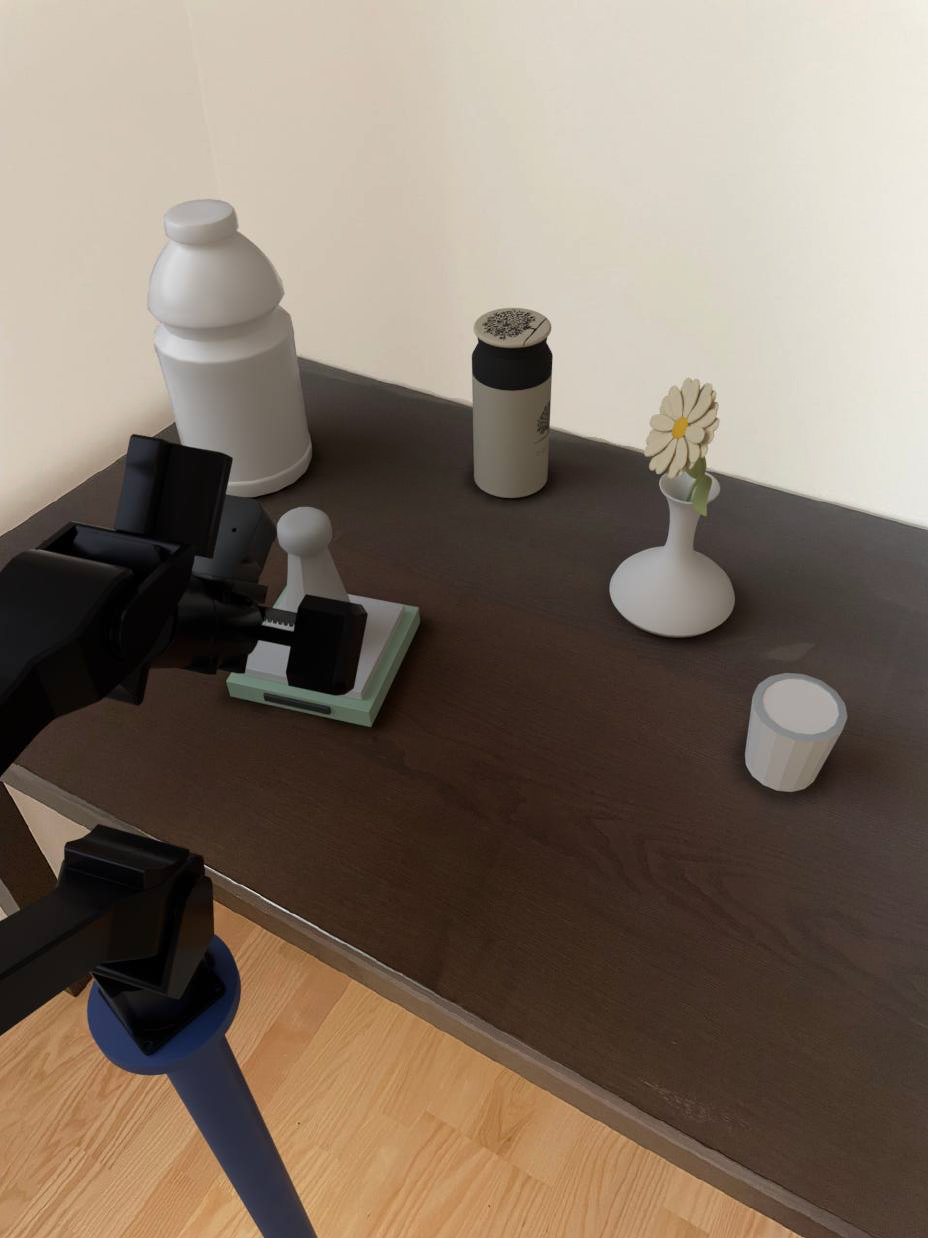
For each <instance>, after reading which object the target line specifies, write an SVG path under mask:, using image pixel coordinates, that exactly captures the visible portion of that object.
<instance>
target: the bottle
mask: <svg viewBox="0 0 928 1238" xmlns="http://www.w3.org/2000/svg"><path fill="white" fill-rule="evenodd" d="M163 228H164V233H165V235H166V237H167V238H168V239H169V241H168V242H167V243H166V244H165V245H164V247H163V248H162V249H161V251H160V253H159V254H158V256H157V258H156V260H155V262H154V264H153V267H152V270H151V272H150V277H149V281H148V290H147V297H146V299H147V301H146V303H147V304H146V306H147V310H148V311H149V312H150V314H151V315H152V316H153V317H154V318H155V320H156V321H159V323H158V325H157V326H156V328H154V330H153V346H154V351H155V353H156V356H157V359H158V363H159V366H160V370H161V373H162V377H163V381H164V384H165V388H166V393H167V395H168V400H169V404H170V407H171V411H172V414H173V418H174V423H175V425H176V430H177V433H178V437H179V441H180V445H184V446H189V447H194V448H200V449H206V450H211V451H217V452H221V453H224V454H227V455H229V456H231V457H232V458H233V462H232V467H231V472H230V476H229V481H228V486H227V491H226V494H227V495H233V496H239V497H245V498H256V497H257V498H258V497H260V496H265V495H268V494H272V493H277V492H278V491H280V490H282V489H284V488H285V487H289V486H290V485H293V484H294V483H295V482H297V480H299V479H300V478H301V477H302V476H303V475H304V474H305V473H306V472H307V470H308V468H309V465H310V463H311V461H312V458H313V445H312V440H311V434H310V432H309V429H308V421H307V414H306V408H305V401H304V394H303V388H302V382H301V375H300V368H299V361H298V355H297V348H296V340H295V330H294V326H293V325H294V323H293V320H292V316H291V314H290V313H289V312H288V311H287V310H286V309H285V308H284V307H283V306H282V305H280V302H281V301H282V299H284V296H285V295H286V293H285V292H286V291H285V288H284V283H283V279H282V277H281V276H280V275H279V272H278V271H277V269H276V267H275V265H274V264H273V262H272V261H271V259H270V258H269V257H268V256H267V255H266V253H265V252H264V251H262V249H261V248H259V246H257V244H255V243H254V242H253V241H251V240H250V239H249V238H248V237H247V236H246V235H244V234H243V233H242V232H240V231H238V230H239V228H240V225H239V218H238V215H237V212H236V209H235V208H234V206H233V205H232V204H230V203H229V202H227V201H225V200H221V199H213V198H204V199H194V200H188V201H184V202H181V203H178V204H175V205H173V206H172V207H170V208H168V209H167V210H166V212H165V213H164V214H163Z"/></svg>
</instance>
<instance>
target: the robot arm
mask: <svg viewBox="0 0 928 1238" xmlns="http://www.w3.org/2000/svg"><path fill="white" fill-rule="evenodd" d="M232 462H233V458H232V457H231V456H229V455H227V454H224V453H221V452H217V451H211V450H206V449H200V448H194V447H189V446H184V445H182V444H181V443H175V442H171V441H169V440H166V439H165V438H160V437H154V436H150V435H149V436H148V435H142V434H137V433H132V434H131V435H130V437H129V441H128V446H127V452H126V457H125V470H124V475H123V479H122V485H121V490H120V495H119V500H118V505H117V508H116V509H117V510H116V513H115V518H114V519H115V520H114V524H113V528H110V527H103V526H99V525H94V524H88V523H84V522H78V521H73V520H71V521H68V522H67V523H66V524H65V525H64V526H62V527H61V528H59V529H58V530H57V531H55V532H54V533H53V534H52V535H50V536H49V537H48V538H46V539H44V540H43V541H42V542H41V543H40V544H39V545H37V546H36V547H35V548H30V549H27V550H22V552H20V553H18V554H17V555H15V556H13V557H12V558H11V559H10V560H9V561H8V562H7V563H6V564H5V565H4V567H3V568H2V569H1V570H0V778H1V777H2V776H4V774H5V773H6V772H7V770H8V769H10V767H11V766H12V765H13V764H14V763H15V762H16V760H17V759H18V758H19V757H20V755H21V754H22V753H23V752H24V751H25V750H26V749H27V748H28V747H29V745H30V744H31V743H32V742H33V740H34V739H35V738H36V737H37V736H38V735H39V734H40V733H41V732H42V731H43V730H44V729H45V728H46V727H48V726H49V725H50V724H51V723H52V722H54V721H55V720H57V719H59V718H62V717H64V716H67V715H69V714H72V713H75V712H77V711H79V710H82V709H84V708H87V707H90V706H92V705H95V704H97V703H99V702H101V701H102V700H103V699H106V700H110V701H115V702H119V703H123V704H128V705H131V706H135V707H139V706H141V705H142V704H143V702H144V700H145V695H146V691H147V685H148V679H149V675H150V671H151V670H152V669H155V670H157V669H179V670H180V669H181V670H184V671H188V672H189V671H190V672H193V673H199V674H204V675H208V676H211V675H215V676H216V675H217V673H218V670H219V671H224V672H228V673H237V674H245V671H246V665H247V660H248V655H249V654H251V653H252V652H253V650H254V649H255V647H256V646H257V644H258V641H259V640H260V641H265V642H270V643H275V644H280V645H285V646H290V652H289V657H288V663H287V668H286V676H287V681H288V686H292V687H296V688H301V689H306V690H310V691H315V692H320V693H324V694H329V695H334V696H338V695H345V694H347V693H348V692H349V691H351V690H352V689H354V686H355V680H356V675H357V670H358V664H359V659H360V654H361V649H362V643H363V638H364V633H365V627H366V622H367V617H368V613H367V612H366V610H365V609H364V607H363V606H362V605H361V604H356V603H351V602H346V601H340V600H335V599H330V598H324V597H319V596H314V595H308V594H306V595H305V596H304V598H303V600H302V601H301V603H300V604H299V606H298V610H297V613H296V612H291V611H286V610H281V609H276V608H273V607H270V606H265V605H266V600H267V596H268V589H269V585H267V584H266V585H265V584H261V583H260V577H261V575H262V573H263V571H264V568H265V565H266V562H267V561H268V558H269V557H268V556H269V554H270V551H271V548H272V545H273V543H274V542H275V541H276V538H277V536H278V535H277V525H276V524H275V523H274V521H273V520H272V518H271V517H270V515H269V514H268V512H267V511H266V509H265V508H264V507H263V505H262V504H261V502H260V501H258V500H257V499H254V498H251V497H239V496H233V495H227V494H226V491H227V486H228V481H229V476H230V472H231V467H232ZM266 620H267V621H268V622H269V623H271V622H272V620H273V623H274V624H277V622H278V624H279V625H282V623H284V626H287V625H288V623H289V627H293V625H294V631H291V630H286V629H281V628H276V627H271V626H266V625H262V624H263V622H266ZM213 884H214V883H213V880H212V878H211V877H210V876H208V875H206V867H205V858H204V856H203V855H201V854H197V853H195V852H191V851H190V849H189V848H186V847H183V846H179V845H177V844H176V845H175V844H172V843H170V842H169V843H168V842H165V841H161V840H158V839H154V838H150V837H147V836H143V835H139V834H136V833H134V832H133V833H132V832H129V831H126V830H122V829H118V828H115V827H111V826H108V825H104V824H101V823H98V824H96V825H95V826H94V827H93V828H92V829H91V831H89V832H88V833H87V834H85V835H83V836H82V837H79V838H77V839H73V840H69V841H66V842H65V844H64V847H63V860H62V861H61V865H60V869H59V872H58V875H57V879H56V883H55V887H54V889H53V890H52V891H50V892H49V893H47V894H45V895H44V896H42V897H40V898H39V899H37V900H35V901H33V902H32V903H29V904H28V905H26V906H24V907H23V908H21V909H18V910H17V911H15V912H13V913H12V914H10V915H8V916H6V917H4V918H3V919H1V920H0V1037H1V1036H3V1035H4V1034H5V1033H7V1032H8V1031H10V1030H11V1029H12V1028H14V1027H15V1026H17V1025H18V1024H20V1023H21V1022H23V1021H24V1020H25V1019H26V1018H28V1017H29V1016H30V1015H32V1014H33V1013H35V1012H36V1011H38V1010H39V1009H40V1008H42V1007H43V1006H45V1005H46V1004H47V1003H49V1002H50V1001H51V1000H53V999H54V998H56V997H57V996H59V995H60V994H61V993H63V992H64V991H65V990H67V989H68V988H69V987H71V986H72V985H74V984H75V983H76V982H78V981H79V980H81V979H82V978H83V977H85V976H86V975H88V974H90V975H91V977H92V979H93V981H94V980H95V982H96V983H97V985H98V986H99V988H98V993H99V995H100V996H101V998H102V999H103V1000H104V1002H105V1003H106V1004H107V1006H108V1007H109V1008H110V1010H111V1011H112V1013H113V1014H114V1015H115V1017H116V1018H117V1019H118V1021H119V1022H120V1023H121V1025H122V1026H123V1028H124V1029H125V1030H126V1032H127V1033H128V1034H129V1036H130V1037H131V1038H132V1040H133V1041H134V1043H135V1044H136V1045H137V1047H138V1048H139V1049H140V1051H141V1052H142V1053H143V1054H144V1055H146V1056H149V1055H152V1054H153V1053H155V1052H156V1051H157V1050H158V1049H159V1048H161V1047H162V1046H163V1045H164V1044H165V1043H167V1042H168V1041H169V1040H170V1039H172V1038H173V1037H174V1036H175V1035H176V1034H178V1033H179V1032H180V1031H181V1030H182V1029H184V1028H185V1027H186V1026H187V1025H188V1024H190V1023H191V1022H192V1021H193V1020H195V1019H196V1018H197V1017H198V1016H199V1015H201V1014H202V1013H203V1012H204V1011H205V1010H207V1009H208V1008H209V1007H210V1006H211V1005H213V1004H214V1003H215V1002H216V1001H218V1000H219V999H220V998H221V997H222V996H223V995H224V994H225V992H226V987H225V985H224V983H223V982H222V981H221V980H220V978H219V977H218V976H217V975H216V974H215V972H214V971H213V970H212V968H214V967H215V964H216V961H215V958H214V956H213V954H212V951H211V949H210V947H209V944H210V942H211V940H212V939H213V937H214V934H215V911H214V908H215V906H214V905H215V904H214V885H213ZM217 988H221V990H220V991H219V992H215V990H216V989H217ZM149 1044H151V1045H152V1046H151V1048H150V1049H148V1050H146V1049H145V1048H146V1046H147V1045H149Z"/></svg>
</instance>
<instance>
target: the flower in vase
mask: <svg viewBox="0 0 928 1238" xmlns="http://www.w3.org/2000/svg"><path fill="white" fill-rule="evenodd" d="M716 398H717V392H716V390H715V389H713V384H712V383H708V382H706V383H704V384H703V385H702V386H701V382H700V380H699V378H694V379H693V380H692V379H691V378H690V377H687V378H685V379H684V380H683V382H682V385H681V387H680V389H679V387H678V386H677V385H672V386H670V388H669V390H668V392H667V395H666V396H664V397H663V398H662V400H661V405H660V406H659V413H657V414H656V413H655V414H654V415H652V416H651V418H650V420H649V425H650V427H651V430H650V431H649V434H648V435H647V437H646V439H645V443H646V445H647V446H645V448H644V451H643V454H644V456H645V458H649V457H652V458H651V460H650V462H649V465H648V469H649V470H650V471H653V472H654V471H655V473H656V475H660V474H663V473H664V472H665V471H666V472H665V473H664V474H663V475H662V476H661V477H660V478H659V483H658V484H659V488H660V492H662V494H663V495H664V497H665V498H666V500H667V503H668V508H669V527H668V534H667V539H666V542H665V544H664V545H660V546H654V547H650V548H647V549H644V550H642V551H639V552H637V553H635V554H632V555H631V556H629V557H627V558H626V559H625V560H623V561H622V562H621V563H619V565H618V567H617V569H616V570H615V572H614V573H613V574H612V576H611V579H610V582H609V596H610V599H611V601H612V603H613V606H614V607H615V608H616V610H617V611H618V612H619V614H620V615H621V616H622V617H624V619H625V620H626V621H628V622H629V623H630V624H631V625H633V626H635V627H637V628H638V629H640V630H642V631H644V632H647V633H649V634H652V635H657V636H660V637H667V638H691V637H696V636H700V635H703V634H706V633H708V632H710V631H713V630H714V629H716V628H718V626H720V625H722V624H723V623H724V622H726V620H727V619H728V618H729V617H730V616H731V614H732V612H733V611H734V607H735V602H736V597H735V591H734V587H733V584H732V581H731V580H730V577H729V576H728V574H727V572H726V571H724V570H723V568H722V567H720V565H718V564H717V563H716V562H715V561H714V560H712V559H711V558H710V557H708V556H706V555H705V554H703V553H701V552H698V551H696V550H695V549H694V541H695V534H696V530H697V526H698V523H699V520H700V517H701V515H702V516H703V517H707V514H708V512H707V511H708V504H710V503H711V502H712V501H714V500H715V499H716V498H717V497H718V496H719V494H720V492H721V484H720V482H719V481H718V480H717V478H716V477H715V476H714V475H712V474H710V473H709V472H706V471H707V460H706V455H707V454H708V451H709V446H708V445H710V444H711V443H712V442H713V440H714V438H715V431H716V430H717V429H718V428H719V426H720V421H721V420H720V419H719V418H718V417H717V414H718V410H719V402H718V401H716Z"/></svg>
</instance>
